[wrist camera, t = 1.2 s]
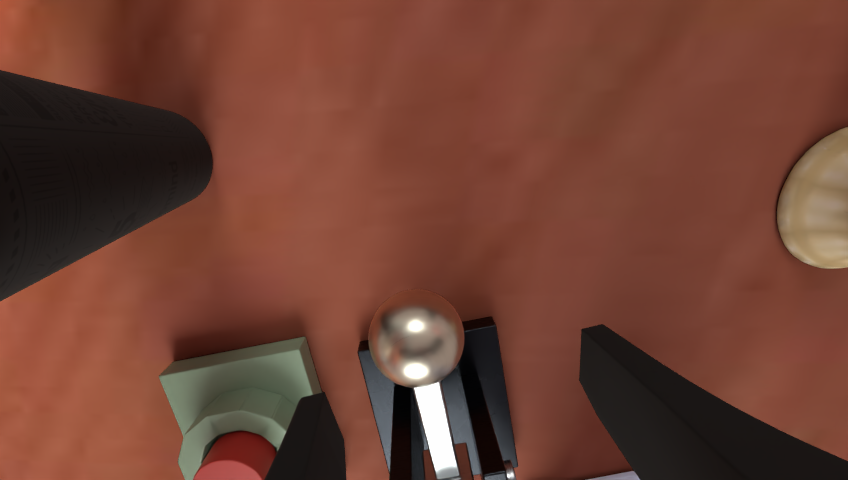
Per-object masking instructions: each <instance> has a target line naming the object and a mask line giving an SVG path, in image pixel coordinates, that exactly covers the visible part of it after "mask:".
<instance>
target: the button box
mask: <svg viewBox="0 0 848 480" xmlns="http://www.w3.org/2000/svg"><path fill="white" fill-rule="evenodd" d="M159 379H160V381H161V383H162V386H163V388H164V391H165V393H166V395H167V398H168V400H169V403H170V405H171V408H172V410H173V412H174V415H175V417H176V420H177V422H178V425H179V427H180V429H181V432H182V434H183V442H182V446H181V450H180V454H179V458H178V464H179V466H180V469H181V471H182V474H183V476H184V478H185V480H193V478H194V476H195V474H196V472H197V471H198V469H199V467H200V466H201V464H202V463H203V461H204V459H205V458H206V456H207V454H208V453H209V451H210V450H211V448H212V446H213V445H214V443H215V442H216V441H217V440H218V439H219V438H220V437H222V436H223V435H225V434H227V433H230V432H234V431H248V432H252V433H256V434H259V435H261V436H263V437H264V438H265V439H267V440H268V441H269V442H270V443H271V444H272V445H273V447H274V448H275V451H276V453H277V452H278V449H279V447H280V445H281V443H282V440H283V438H284V436H285V433H286V431H287V429H288V426H289V424H290V422H291V419H292V417H293V414H294V412H295V409H296V407H297V404H298V402H299V400H300V399H301V398H302V397H305V396H309V395H314V394H318V393H322V391H321V388H320V384H319V381H318V378H317V374H316V371H315V367H314V364H313V361H312V357H311V354H310V350H309V347H308V344H307V340H306V337H300V338H295V339H290V340H284V341H279V342H274V343H269V344H264V345H258V346H253V347H248V348H243V349H238V350H232V351H227V352H222V353H217V354H212V355H206V356H201V357H196V358H191V359H186V360H180V361H175V362H172V363H171V364H170V365H169V366H168V367H167V368H166V369H165V370H164V371H163V372H162V373H161V374H160V375H159Z"/></svg>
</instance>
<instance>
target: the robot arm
mask: <svg viewBox="0 0 848 480" xmlns="http://www.w3.org/2000/svg"><path fill="white" fill-rule="evenodd" d="M579 381H580V383H581V385H582V387H583V389H584V391H585V393H586V395H587V397H588V399H589V401H590V403H591V404H592V406H593V408H594V410H595V412H596V414H597V416H598V417H599V419H600V420H601V422H602V423H603V425H604V426H605V428H606V429H607V431H608V433H609V434H610V436H611V437H612V439H613V440H614V442H615V443H616V445H617V446H618V448H619V449H620V451H621V452H622V454H623V455H624V457H625V458H626V460H627V461H628V463H629V464H630V466H631V467H632V469H633V470H634V471H629V472H624V473H619V474H613V475H608V476H603V477H598V478H592V479H587V480H848V461H846V460H844V459H841V458H839V457H837V456H835V455H832V454H830V453H828V452H826V451H823V450H821V449H819V448H817V447H814V446H812V445H810V444H808V443H805V442H803V441H801V440H799V439H797V438H795V437H793V436H790V435H788V434H786V433H784V432H782V431H780V430H778V429H776V428H774V427H772V426H770V425H768V424H766V423H764V422H762V421H760V420H758V419H756V418H754V417H752V416H750V415H748V414H746V413H745V412H743V411H741V410H739V409H737V408H735V407H733V406H732V405H730V404H728V403H726V402H724V401H723V400H721V399H719V398H717V397H716V396H714V395H712V394H710V393H709V392H707V391H705V390H704V389H702V388H700V387H698V386H697V385H695V384H693V383H692V382H690V381H688V380H687V379H685V378H684V377H682V376H680V375H679V374H677V373H676V372H674V371H673V370H671V369H669V368H668V367H666V366H665V365H663V364H662V363H660V362H658V361H657V360H655V359H654V358H652V357H651V356H649V355H648V354H646V353H645V352H643V351H642V350H640V349H639V348H637V347H636V346H634V345H633V344H631V343H630V342H628V341H627V340H625V339H624V338H622V337H621V336H619V335H618V334H617V333H615V332H614V331H612V330H611V329H609V328H608V327H606V326H605V325H603V324H601V325H597V326H593V327H589V328H584V329H582V332H581V355H580V377H579ZM264 480H346V464H345V448H344V439H343V436H342V434H341V431H340V429H339V426H338V424H337V422H336V419H335V417H334V414H333V412H332V409H331V407H330V404H329V402H328V400H327V397H326V395H325V392H322V393H318V394H314V395H309V396H305V397H302V398H301V399H300V400H299V402H298V404H297V407H296V409H295V412H294V414H293V417H292V419H291V422H290V424H289V426H288V429H287V431H286V433H285V436H284V438H283V440H282V443H281V445H280V447H279V449H278V452H277V454H276V456H275V458H274V460H273V462H272V464H271V467H270V469H269V471H268V473H267V475H266V477H265V479H264Z"/></svg>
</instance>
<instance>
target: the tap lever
mask: <svg viewBox="0 0 848 480" xmlns="http://www.w3.org/2000/svg"><path fill="white" fill-rule="evenodd" d="M368 340H369V349H370V353H371V356H372V359H373V361H374V363H375V364H376V366H377V368H378V369H379V370H380V371H381V373H382V374H383V375H384V376H386V377H387V378H388V379H390V380H391V381H393V382H394V383H396V384H399V385H402V386H405V387H410V388H413V390H414V394H415V398H416V402H417V406H418V410H419V414H420V418H421V422H422V426H423V429H424V433H425V437H426V441H427V445H428V449H427V450H423V451H422V457H423V470H424V480H474V478H473V473H472V467H471V462H470V457H469V452H468V447H467V443H466V442H464V443H459V444H455V443H454V439H453V434H452V429H451V425H450V420H449V415H448V410H447V406H446V401H445V396H444V392H443V387H442V382H441V380H443V379H444V378H446V377H447V376H448V375H449V374H450V373H451V372H452V371H453V370H454V368H455V367H456V365H457V364H458V362H459V360H460V358H461V355H462V352H463V348H464V329H463V325H462V322H461V319H460V317H459V315H458V313H457V311H456V310H455V308H454V307H453V306H452V305H451V304H450V303H449V302H448V301H447V300H446V299H445V298H443V297H442V296H440V295H438V294H436V293H434V292H431V291H428V290H422V289H411V290H406V291H402V292H399V293H397V294H395V295H393V296H392V297H390V298H389V299H387V300H386V301H385V302H384V303H383V304H382V305H381V306H380V307H379V308H378V310H377V311H376V313H375V315H374V317H373V319H372V321H371V324H370V328H369V335H368Z"/></svg>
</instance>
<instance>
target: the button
mask: <svg viewBox="0 0 848 480" xmlns="http://www.w3.org/2000/svg"><path fill="white" fill-rule="evenodd" d="M276 454H277V453H276V451H275V448H274V447H273V445H272V444H271V443H270V442H269V441H268V440H267V439H265V438H264V437H263V436H261V435H259V434H256V433H252V432H248V431H234V432H230V433H227V434H225V435H223V436H222V437H220V438H219V439H218V440H217V441H216V442H215V443H214V445H213V446H212V448H211V450H210V451H209V453H208V454H207V456H206V458H205V459H204V461H203V463H202V464H201V466H200V467H199V469H198V471H197V472H196V474H195V476H194V478H193V480H264V479H265V477H266V475H267V473H268V471H269V469H270V467H271V464H272V462H273V460H274V458H275V456H276Z"/></svg>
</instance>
